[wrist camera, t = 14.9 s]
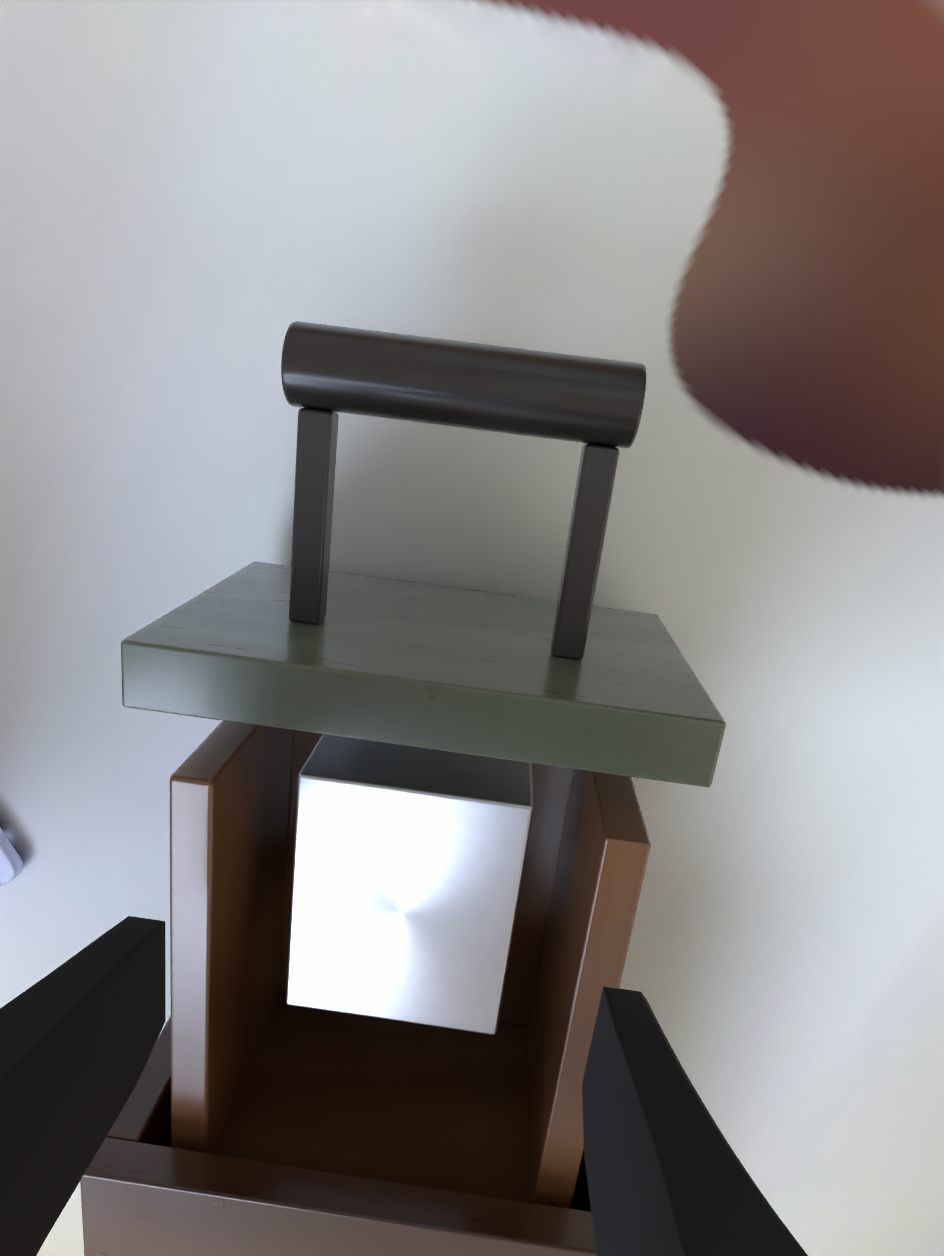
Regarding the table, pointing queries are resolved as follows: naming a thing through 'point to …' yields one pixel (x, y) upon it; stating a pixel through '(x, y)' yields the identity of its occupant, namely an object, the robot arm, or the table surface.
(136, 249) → the table surface
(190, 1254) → the cabinet
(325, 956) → the shiny metal block
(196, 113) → the table surface
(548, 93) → the table surface
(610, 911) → the drawer
